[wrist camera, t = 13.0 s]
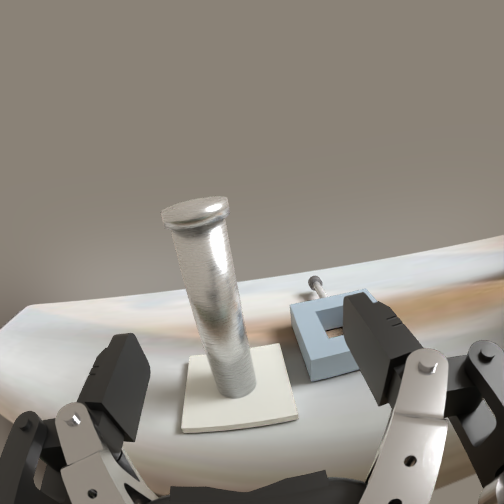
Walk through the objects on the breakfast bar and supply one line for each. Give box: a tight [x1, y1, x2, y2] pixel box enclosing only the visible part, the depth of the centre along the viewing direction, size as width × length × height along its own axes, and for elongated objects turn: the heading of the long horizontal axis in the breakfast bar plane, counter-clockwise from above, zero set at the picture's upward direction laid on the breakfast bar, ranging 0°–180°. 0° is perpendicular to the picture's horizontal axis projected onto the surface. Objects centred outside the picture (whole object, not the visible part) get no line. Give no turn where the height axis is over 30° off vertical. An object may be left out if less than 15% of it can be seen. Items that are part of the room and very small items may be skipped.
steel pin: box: [161, 196, 257, 399], centre depth 22 cm, size 5×5×17 cm
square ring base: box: [290, 276, 377, 382], centre depth 32 cm, size 10×17×3 cm, turn 5°
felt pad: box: [181, 343, 299, 433], centre depth 25 cm, size 10×10×1 cm
